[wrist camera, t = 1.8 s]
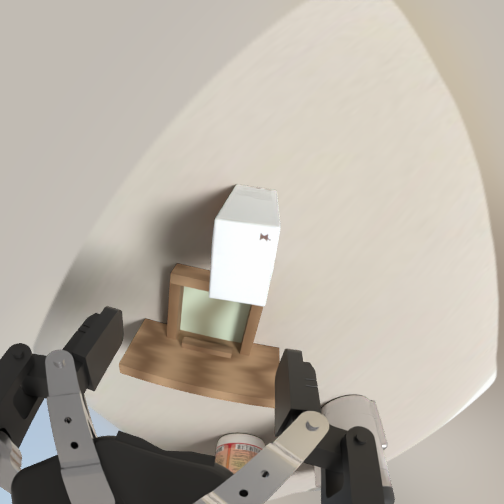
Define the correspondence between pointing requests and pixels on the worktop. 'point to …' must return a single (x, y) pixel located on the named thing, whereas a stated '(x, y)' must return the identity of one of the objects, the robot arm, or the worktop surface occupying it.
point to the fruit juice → (237, 450)
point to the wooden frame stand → (204, 345)
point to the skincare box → (245, 246)
